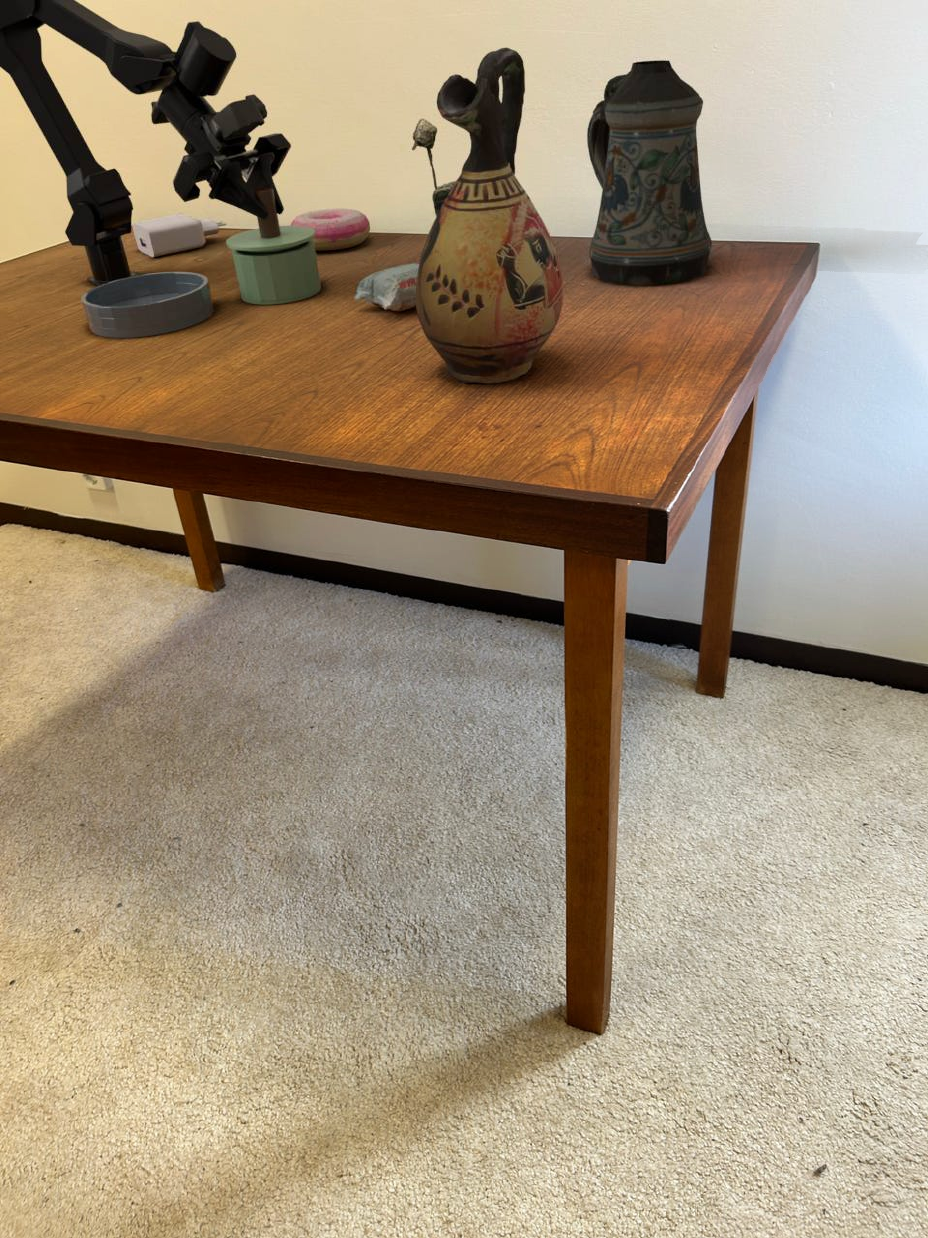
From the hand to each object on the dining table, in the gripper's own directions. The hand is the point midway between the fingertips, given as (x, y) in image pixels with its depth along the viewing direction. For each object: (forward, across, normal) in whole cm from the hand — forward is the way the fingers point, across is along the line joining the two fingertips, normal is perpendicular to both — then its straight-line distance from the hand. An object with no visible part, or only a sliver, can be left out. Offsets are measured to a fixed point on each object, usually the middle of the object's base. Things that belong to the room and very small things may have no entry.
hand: (274, 214), depth 129 cm
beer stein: (+38, +25, -23) cm, 51 cm away
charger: (-20, +18, +36) cm, 45 cm away
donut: (-1, +25, +16) cm, 30 cm away
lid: (+1, 0, +3) cm, 4 cm away
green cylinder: (+7, 0, +8) cm, 11 cm away
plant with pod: (+19, +19, -4) cm, 27 cm away
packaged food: (+23, 0, -7) cm, 24 cm away
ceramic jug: (+39, -15, -24) cm, 48 cm away
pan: (0, -16, +16) cm, 22 cm away
